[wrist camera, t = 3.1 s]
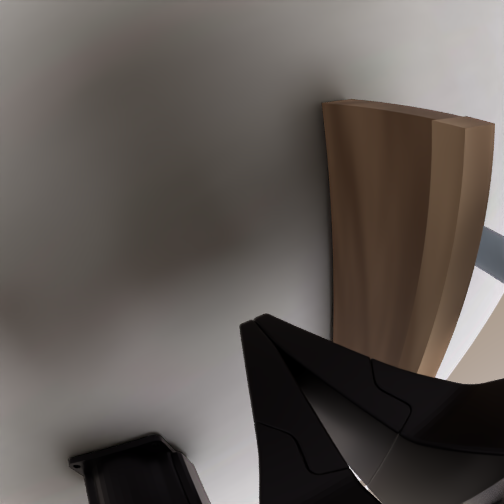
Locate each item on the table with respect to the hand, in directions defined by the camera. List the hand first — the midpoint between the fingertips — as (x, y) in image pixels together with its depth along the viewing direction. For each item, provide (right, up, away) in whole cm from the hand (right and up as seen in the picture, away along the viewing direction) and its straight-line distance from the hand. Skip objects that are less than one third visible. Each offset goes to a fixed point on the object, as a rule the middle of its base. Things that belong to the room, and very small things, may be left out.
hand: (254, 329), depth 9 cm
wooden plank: (+5, 0, +7) cm, 8 cm away
